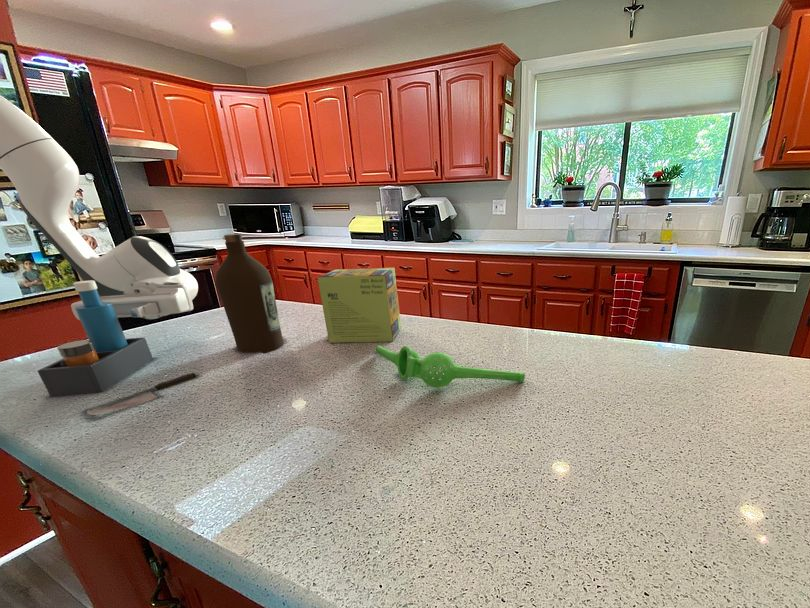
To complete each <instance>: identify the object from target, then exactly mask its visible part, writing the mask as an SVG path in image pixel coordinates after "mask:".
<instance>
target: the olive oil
mask: <svg viewBox="0 0 810 608" xmlns="http://www.w3.org/2000/svg"><path fill="white" fill-rule="evenodd" d="M223 238H224V240H225V242H224V244H225V248H226V251H227V255H226V257H225V258H224V260H223V261H222V263H221V264H220V265H219V267H218V268H217V271H216V272H215V287H216V289H217V292H218V295H219V297H220V300H221V303H222V306H223V308H224V311H225V315H226V317H227V321H228V323H229V326H230V329H231V332H232V335H233V339H234V342H235V345H236V348H237V351H238V352H240V353H248V354H249V353H262V354H264V353H268V352H272V351H275V350H277V349H279V348H281V347H283V345H284V339H283V338H284V337H283V333H282V328H281V323H280V317H279V313H278V312H279V311H278V307H277V300H276V294H275V289H274V283H273V279H272V276H271V274H270V272H269V270H268V268H267V267H265V265H263V264H262V263H261V262H259V261H258V260H257V259H255V258H254V257H253V256H251V255H250V254H249V253H248V252H247V250H246V246H245V241H244V240H243V237H242V234H240V233H233V234H232V233H231V234H224V235H223Z"/></svg>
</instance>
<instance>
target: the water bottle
mask: <svg viewBox="0 0 810 608" xmlns="http://www.w3.org/2000/svg"><path fill="white" fill-rule="evenodd" d="M72 285H73V288H74V289H75V291H76V292H77V293H78V295H79V297H80V301H82V302H83V305H82V306H78V307H76V308H75V309H76V312H77V314H78V316H79V318H80V320H79V321H80V323H81V325H82V328H83V330H84V332H85V334H86V337H87V340H92V342H93V344H94V346H95V350H96V352H100V351H113V350H119V349H121V348H122V347H124V346H126V345H128V343H127V341H126V339H127V338H126V336H125V333H124V331H123V328H122V326H121V323H120V320H119V317H118V318H117V316H116V313H115V311H114V308H113V306H112V303H111V302H102V301H101V299H100V297H101V296H99V294H98V292H97V286H96V283H95V281H93V280H89V281H83V280H80V281H75V282H73V283H72Z"/></svg>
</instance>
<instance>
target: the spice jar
mask: <svg viewBox="0 0 810 608" xmlns="http://www.w3.org/2000/svg"><path fill="white" fill-rule="evenodd" d="M56 347H57V351H58V353H59V355H60V357H62V358H61V359H63V360H64V362H65V364H66V366H67V367H70V366H82V365H90V364H92V363H94V362H96V361H98V360H99V357H98V355H97V353H96V350H95V346H94V344H93V342H92V340H89V339H81V340H74V341H70V342H66V343H62V344H59V345H58V346H56Z"/></svg>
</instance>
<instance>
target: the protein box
mask: <svg viewBox="0 0 810 608" xmlns="http://www.w3.org/2000/svg"><path fill="white" fill-rule="evenodd" d="M317 285H318V290H319V294H320V300H321V306H322V311H323V316H324V323H325V327H326V332H327V339H328V343H336V344H337V343H382V342H387V343H388V342H390V343H391V342H393V341H394V340H395V339H396V337H397V335H398V334H399V333H400V331H401V329H402V321H401V314H400V305H399V296H398V295H399V294H398V286H397V279H396V269H395V267H380V268H379V267H377V268H374V267H373V268H345V269H333V270H331V271H329V272H327V273H324V274H322V275H319V276H318V277H317Z"/></svg>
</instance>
